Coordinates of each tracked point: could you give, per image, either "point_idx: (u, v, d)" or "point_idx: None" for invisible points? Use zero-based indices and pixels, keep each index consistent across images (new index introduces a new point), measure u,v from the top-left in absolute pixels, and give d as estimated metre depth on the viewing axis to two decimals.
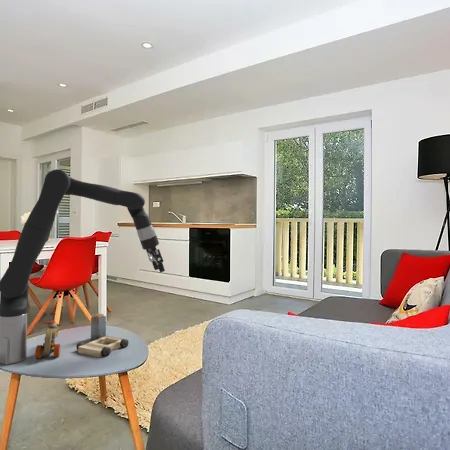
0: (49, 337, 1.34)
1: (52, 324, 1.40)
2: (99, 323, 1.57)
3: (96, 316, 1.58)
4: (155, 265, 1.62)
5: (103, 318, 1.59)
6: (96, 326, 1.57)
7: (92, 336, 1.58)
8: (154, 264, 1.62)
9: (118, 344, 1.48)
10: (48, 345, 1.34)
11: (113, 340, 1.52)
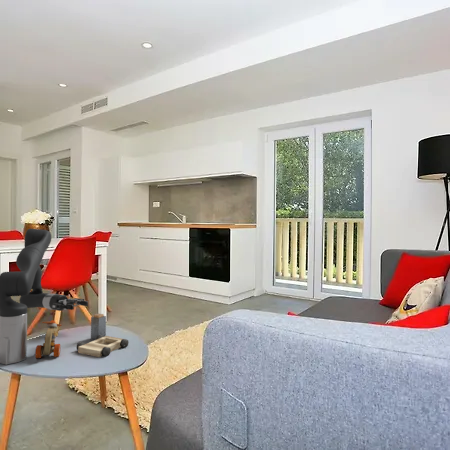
0: (49, 337, 1.34)
1: (52, 324, 1.40)
2: (99, 323, 1.57)
3: (96, 316, 1.58)
4: None
5: (103, 318, 1.59)
6: (96, 326, 1.57)
7: (92, 336, 1.58)
8: None
9: (118, 344, 1.48)
10: (48, 345, 1.34)
11: (113, 340, 1.52)
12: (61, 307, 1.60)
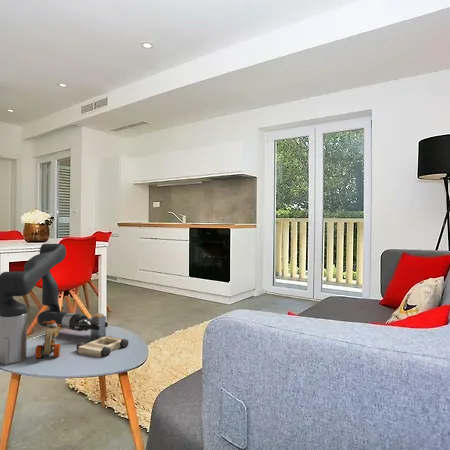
0: (49, 337, 1.34)
1: (52, 324, 1.40)
2: (99, 323, 1.57)
3: (96, 316, 1.58)
4: None
5: (103, 318, 1.59)
6: None
7: (92, 336, 1.58)
8: None
9: (118, 344, 1.48)
10: (49, 345, 1.34)
11: (113, 340, 1.52)
12: (87, 327, 1.56)
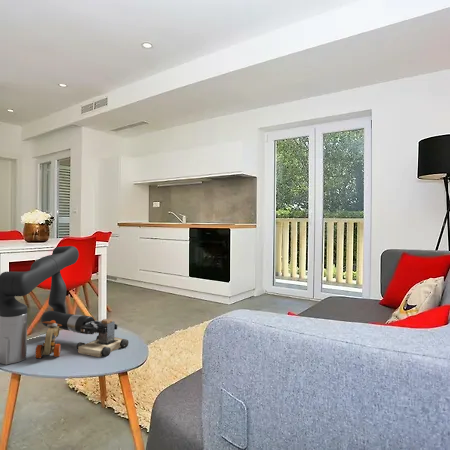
0: (49, 337, 1.34)
1: (52, 324, 1.40)
2: (107, 329, 1.46)
3: (104, 322, 1.47)
4: None
5: (112, 324, 1.49)
6: None
7: (100, 343, 1.47)
8: None
9: (118, 344, 1.48)
10: (49, 345, 1.34)
11: None
12: (92, 331, 1.44)
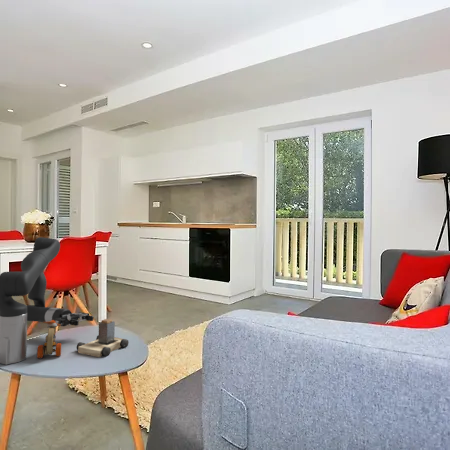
0: (51, 336, 1.35)
1: (53, 324, 1.40)
2: (107, 329, 1.46)
3: (104, 322, 1.47)
4: None
5: (112, 324, 1.49)
6: (105, 332, 1.46)
7: (100, 343, 1.47)
8: None
9: (118, 344, 1.48)
10: (51, 345, 1.34)
11: None
12: (65, 323, 1.49)
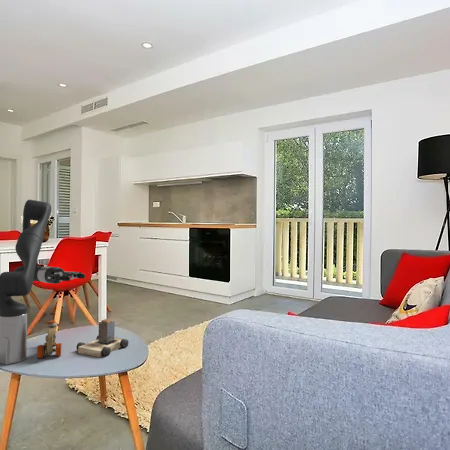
0: (51, 336, 1.35)
1: (53, 324, 1.40)
2: (107, 329, 1.46)
3: (104, 322, 1.47)
4: None
5: (112, 324, 1.49)
6: (105, 332, 1.46)
7: (100, 343, 1.47)
8: None
9: (118, 344, 1.48)
10: (51, 345, 1.34)
11: None
12: (57, 278, 1.53)
